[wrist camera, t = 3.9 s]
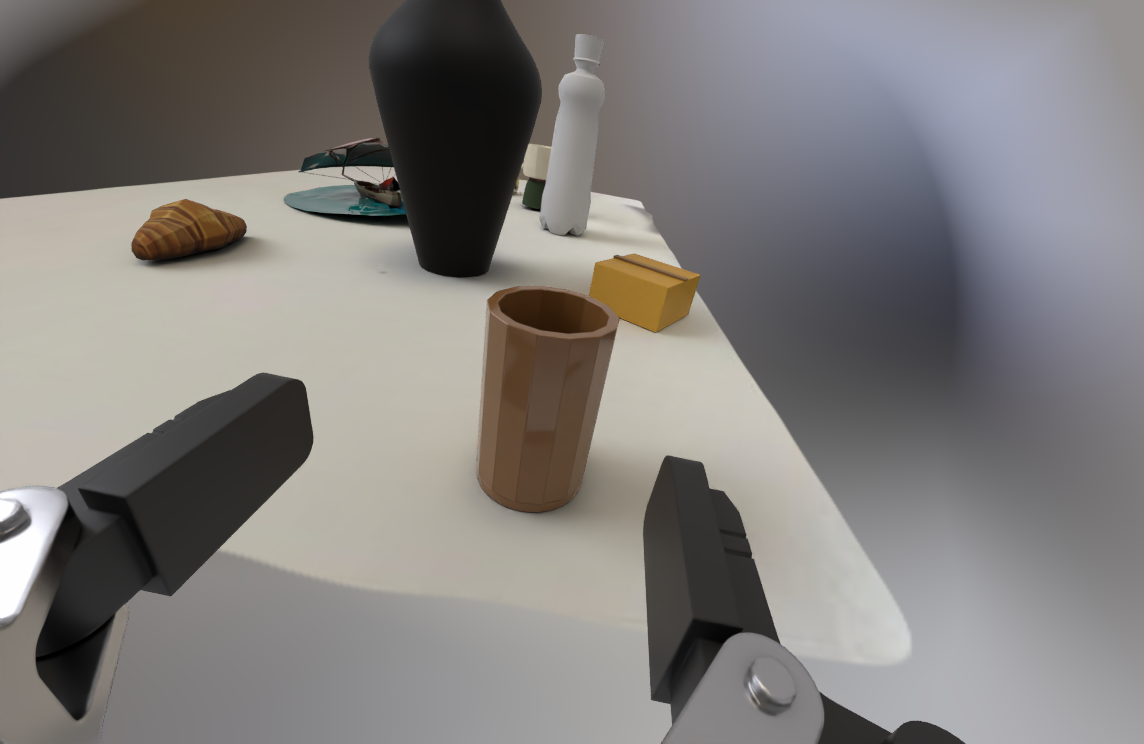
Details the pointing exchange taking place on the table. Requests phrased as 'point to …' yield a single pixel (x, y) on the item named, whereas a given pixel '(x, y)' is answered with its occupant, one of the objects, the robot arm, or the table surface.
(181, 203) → the croissant
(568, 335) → the cup
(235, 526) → the robot arm
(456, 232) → the vase
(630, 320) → the box
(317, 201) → the boat on round base
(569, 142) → the bottle
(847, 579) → the table surface
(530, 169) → the character mug
